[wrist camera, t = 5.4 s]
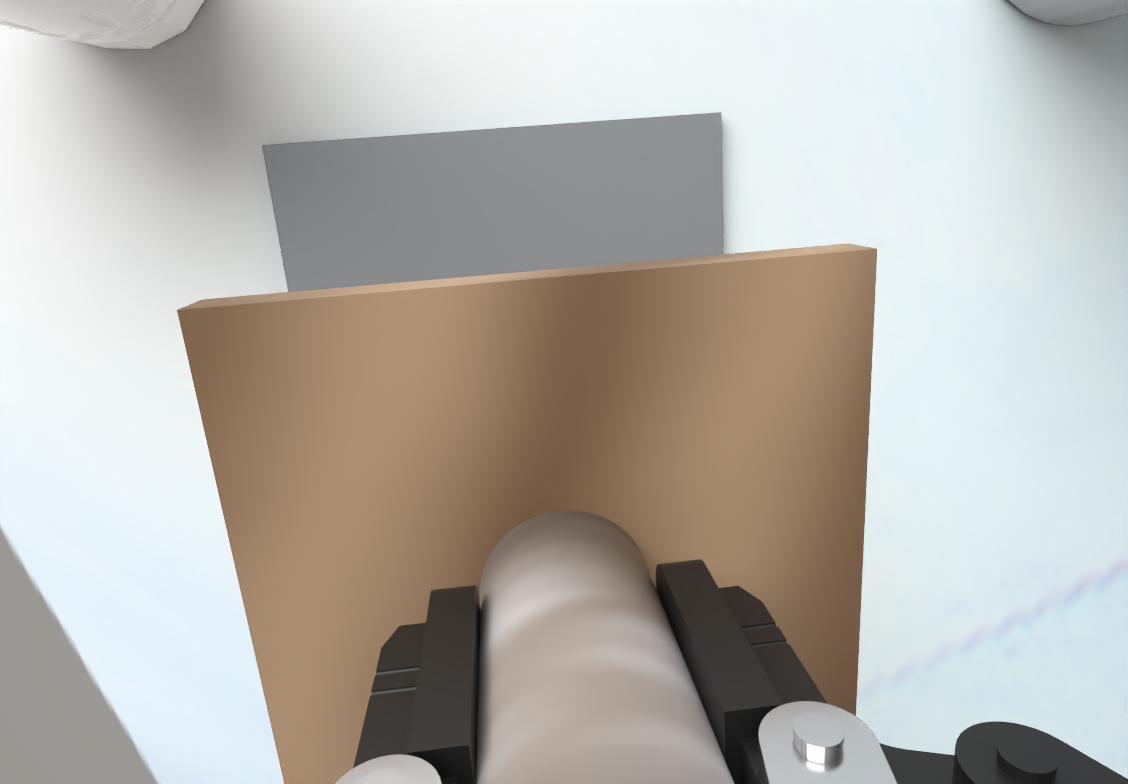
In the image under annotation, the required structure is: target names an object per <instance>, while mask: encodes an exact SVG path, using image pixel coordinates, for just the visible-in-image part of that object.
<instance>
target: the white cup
mask: <svg viewBox="0 0 1128 784" xmlns="http://www.w3.org/2000/svg"><path fill="white" fill-rule="evenodd" d="M204 1H205V0H0V26H3V27H7V28H11V29H15V30H19V31H23V32H28V33H34V34H39V35H45V36H49V37H52V38H56V39H62V40H67V41H73V42H80V43H88V44H92V45H96V46H99V47H103V48H125V49H150V48H152V47H154V46H156V45H158V44H160V43H162V42H164V41H166V40H168V39H170V38H172V37H174V36H176V35H177V34H179V33H181V32H183V31H185V30H186V29H187V27H188V26H189V24H190V23H191V21H192V20H193V18H194V16H195V15H196V13H197V12H198V10H199V9H200V7H201V6H202V4H203V2H204Z"/></svg>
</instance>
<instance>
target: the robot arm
mask: <svg viewBox="0 0 1128 784" xmlns="http://www.w3.org/2000/svg"><path fill="white" fill-rule="evenodd" d="M1009 1H1010V2H1011V3H1012V4H1014V5H1015V6H1016V7H1017V8H1018V9H1020V10H1021V11H1022V12H1023V13H1025V14H1027V15H1029V16H1032V17H1034V18H1036V19H1038V20H1040V21H1042V22H1047V23H1053V24H1058V25H1064V26H1065V25H1078V24H1088V23H1092V22H1095V21H1099V20H1103V19H1107V18H1110V17H1114V16H1118V15H1122V14H1126V13H1128V0H1009ZM656 590H657V593H658V595H659V598H660V600H661V603H662V605H663V607H664V610H665V612H666V615H667V617H668V620H669V622H670V625H671V627H672V630H673V632H674V635H675V637H676V640H677V642H678V645H679V647H680V650H681V652H682V655H683V657H684V660H685V662H686V665H687V667H688V670H689V672H690V675H691V677H692V680H693V682H694V685H695V687H696V690H697V692H698V695H699V697H700V700H701V702H702V705H703V707H704V710H705V712H706V715H707V717H708V719H709V722H710V724H711V727H712V729H713V732H714V734H715V737H716V739H717V742H718V744H719V747H720V749H721V752H722V754H723V757H724V759H725V762H726V764H727V766H728V769H729V771H730V774H731V776H732V779H733V781H734V784H1128V779H1127V778H1125V777H1123V776H1121V775H1120V774H1118V773H1116V772H1114V771H1113V770H1111V769H1109V768H1108V767H1106V766H1104V765H1102V764H1101V763H1099V762H1097V761H1095V760H1094V759H1092V758H1090V757H1088V756H1087V755H1085V754H1083V753H1082V752H1080V751H1078V750H1076V749H1075V748H1073V747H1071V746H1069V745H1068V744H1066V743H1064V742H1063V741H1061V740H1059V739H1057V738H1055V737H1053V736H1051V735H1049V734H1047V733H1045V732H1042V731H1040V730H1037V729H1034V728H1031V727H1028V726H1025V725H1020V724H1015V723H1009V722H984V723H979V724H976V725H973V726H971V727H969V728H967V729H966V730H964V731H963V732H962V733H961V734H960V736H959V737H958V739H957V742H956V746H955V755H947V754H938V753H930V752H922V751H913V750H906V749H900V748H895V747H891V746H887V745H883V744H881V743H879V742H878V740H877V738H876V736H875V735H874V733H873V732H872V731H871V729H870V728H869V727H868V726H867V725H866V724H865V723H864V722H863V721H862V720H860V719H859V718H857V717H856V716H854V715H853V714H851V713H849V712H847V711H845V710H843V709H841V708H838V707H836V706H833V705H829V704H828V703H827V702H826V700H825V699H824V697H823V695H822V694H821V692H820V691H819V689H818V688H817V686H816V685H815V683H814V681H813V680H812V678H811V677H810V675H809V674H808V672H807V671H806V669H805V667H804V666H803V664H802V663H801V661H800V660H799V658H798V657H797V655H796V653H795V652H794V650H793V649H792V647H791V646H790V644H787V640H786V638H785V636H784V635H783V633H782V632H781V630H780V629H779V627H778V626H777V627H776V623H775V621H774V619H773V618H772V616H771V615H770V613H769V611H768V610H767V608H766V607H765V605H764V604H763V602H762V601H760V600H759V599H757V598H756V597H754V596H753V595H752V594H750V593H749V592H747V591H746V590H744V589H743V588H741V587H740V586H731V587H723V588H718V586H717V584H716V583H715V581H714V579H713V577H712V575H711V574H710V572H709V570H708V568H707V566H706V565H705V563H704V561H703V560H702V559H697V560H689V561H680V562H672V563H663V564H657V567H656ZM479 645H480V603H479V595H478V589H477V586H476V585H471V586H462V587H454V588H445V589H436V590H431V593H430V599H429V606H428V612H427V619H426V623H418V624H410V625H401V626H399V627H398V628H397V629H396V631H395V632H394V633H393V634H392V635H391V637H390V638H389V639H388V640H387V641H386V643H385V644H384V645H383V646H382V647H381V651H380V656H379V660H378V664H377V668H376V676H375V677H374V681H373V685H372V690H371V696H370V698H369V702H368V707H367V711H366V715H365V719H364V723H363V728H362V732H361V736H360V740H359V745H358V749H357V753H356V757H355V762H354V766H353V769H351V770H350V771H348V772H347V773H346V774H344V775H343V776H342V777H341V778H340V779H339V780H338V781H337V782H336V783H335V784H476V761H477V722H478V684H479Z"/></svg>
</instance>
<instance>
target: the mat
mask: <svg viewBox="0 0 1128 784" xmlns="http://www.w3.org/2000/svg"><path fill="white" fill-rule="evenodd" d="M262 148H263V153H264V159H265V164H266V170H267V175H268V181H269V186H270V192H271V197H272V203H273V209H274V214H275V220H276V225H277V231H278V236H279V242H280V247H281V253H282V259H283V264H284V270H285V275H286V281H287V286H288V292H298V291H309V290H321V289H332V288H344V287H355V286H367V285H378V284H390V283H401V282H413V281H424V280H436V279H447V278H459V277H470V276H482V275H493V274H505V273H516V272H528V271H540V270H551V269H563V268H574V267H586V266H597V265H609V264H620V263H632V262H643V261H655V260H666V259H678V258H689V257H701V256H712V255H723V217H722V140H721V112H720V113H706V114H692V115H678V116H664V117H650V118H637V119H623V120H609V121H595V122H581V123H567V124H553V125H539V126H525V127H511V128H497V129H483V130H469V131H455V132H441V133H427V134H413V135H400V136H386V137H372V138H358V139H344V140H330V141H316V142H302V143H288V144H274V145H262Z"/></svg>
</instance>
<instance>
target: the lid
mask: <svg viewBox="0 0 1128 784" xmlns="http://www.w3.org/2000/svg"><path fill="white" fill-rule="evenodd" d="M876 261H877V249H875V248H870V247H864V246H858V245H853V244H839V245H828V246H816V247H805V248H793V249H781V250H770V251H758V252H747V253H735V254H724V255H712V256H701V257H689V258H678V259H666V260H655V261H643V262H632V263H620V264H609V265H597V266H586V267H574V268H563V269H551V270H540V271H528V272H516V273H505V274H493V275H482V276H470V277H459V278H447V279H436V280H424V281H413V282H401V283H390V284H378V285H367V286H355V287H344V288H332V289H321V290H309V291H298V292H286V293H274V294H263V295H251V296H240V297H228V298H217V299H205V300H200V301H198V302H195V303H193V304H191V305H188V306H186V307H183V308H181V309H178V310H177V312H178V316H179V321H180V325H181V329H182V334H183V338H184V343H185V347H186V352H187V356H188V360H189V365H190V369H191V374H192V378H193V382H194V387H195V391H196V396H197V400H198V404H199V409H200V413H201V418H202V422H203V427H204V431H205V435H206V440H207V444H208V449H209V453H210V457H211V462H212V466H213V471H214V475H215V479H216V484H217V488H218V493H219V497H220V502H221V506H222V510H223V515H224V519H225V524H226V528H227V532H228V537H229V541H230V546H231V550H232V555H233V559H234V563H235V568H236V572H237V577H238V581H239V585H240V590H241V594H242V599H243V603H244V607H245V612H246V616H247V621H248V625H249V630H250V634H251V638H252V643H253V647H254V652H255V656H256V660H257V665H258V669H259V674H260V678H261V682H262V687H263V691H264V696H265V700H266V705H267V709H268V713H269V718H270V722H271V727H272V731H273V735H274V740H275V744H276V749H277V753H278V757H279V762H280V766H281V771H282V775H283V780H284V784H335V783H336V782H337V781H338V780H339V779H340V778H341V777H342V776H343V775H344V774H346V773H347V772H348V771H350V770H351V769H353V766H354V762H355V757H356V753H357V749H358V745H359V740H360V736H361V732H362V728H363V723H364V719H365V715H366V711H367V707H368V702H369V698H370V696H371V690H372V685H373V681H374V677H375V676H376V668H377V664H378V660H379V656H380V651H381V647H382V646H383V645H384V644H385V643H386V641H387V640H388V639H389V638H390V637H391V635H392V634H393V633H394V632H395V631H396V629H397V628H398V627H399V626H401V625H410V624H418V623H426V619H427V612H428V606H429V599H430V593H431V590H436V589H445V588H454V587H462V586H471V585H476V586H477V589H478V595H479V603H480V645H479V684H478V722H477V761H476V784H734V781H733V779H732V776H731V774H730V771H729V769H728V766H727V764H726V762H725V759H724V757H723V754H722V752H721V749H720V747H719V744H718V742H717V739H716V737H715V734H714V732H713V729H712V727H711V724H710V722H709V719H708V717H707V715H706V712H705V710H704V707H703V705H702V702H701V700H700V697H699V695H698V692H697V690H696V687H695V685H694V682H693V680H692V677H691V675H690V672H689V670H688V667H687V665H686V662H685V660H684V657H683V655H682V652H681V650H680V647H679V645H678V642H677V640H676V637H675V635H674V632H673V630H672V627H671V625H670V622H669V620H668V617H667V615H666V612H665V610H664V607H663V605H662V603H661V600H660V598H659V595H658V593H657V590H656V567H657V564H663V563H672V562H680V561H689V560H697V559H702V560H703V561H704V563H705V565H706V566H707V568H708V570H709V572H710V574H711V575H712V577H713V579H714V581H715V583H716V584H717V586H718V588H723V587H731V586H740V587H741V588H743V589H744V590H746V591H747V592H749V593H750V594H752V595H753V596H754V597H756V598H757V599H759V600H760V601H762V602H763V604H764V605H765V607H766V608H767V610H768V611H769V613H770V615H771V616H772V618H773V619H774V621H775V623H776V627H777V626H778V627H779V629H780V630H781V632H782V633H783V635H784V636H785V638H786V640H787V644H790V646H791V647H792V649H793V650H794V652H795V653H796V655H797V657H798V658H799V660H800V661H801V663H802V664H803V666H804V667H805V669H806V671H807V672H808V674H809V675H810V677H811V678H812V680H813V681H814V683H815V685H816V686H817V688H818V689H819V691H820V692H821V694H822V695H823V697H824V699H825V700H826V702H827V703H828V704H829V705H833V706H836V707H838V708H841V709H843V710H845V711H847V712H849V713H851V714H853V715H854V716H856V697H857V675H858V653H859V632H860V610H861V588H862V566H863V544H864V523H865V501H866V479H867V457H868V435H869V414H870V392H871V370H872V348H873V326H874V304H875V283H876Z"/></svg>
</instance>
